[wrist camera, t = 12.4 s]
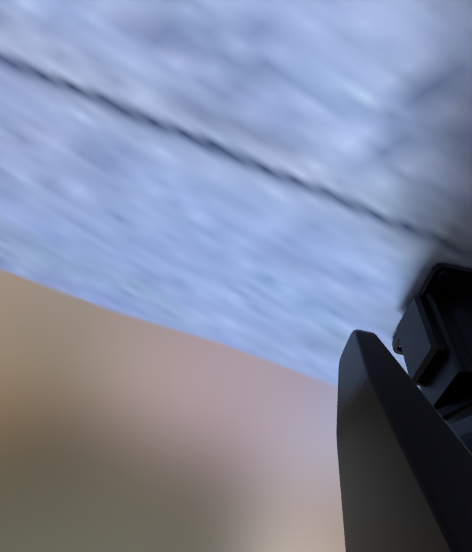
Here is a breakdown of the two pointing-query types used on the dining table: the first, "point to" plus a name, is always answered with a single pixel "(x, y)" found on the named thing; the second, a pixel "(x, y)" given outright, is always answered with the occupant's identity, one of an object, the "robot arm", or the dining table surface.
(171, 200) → the dining table surface
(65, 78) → the dining table surface
